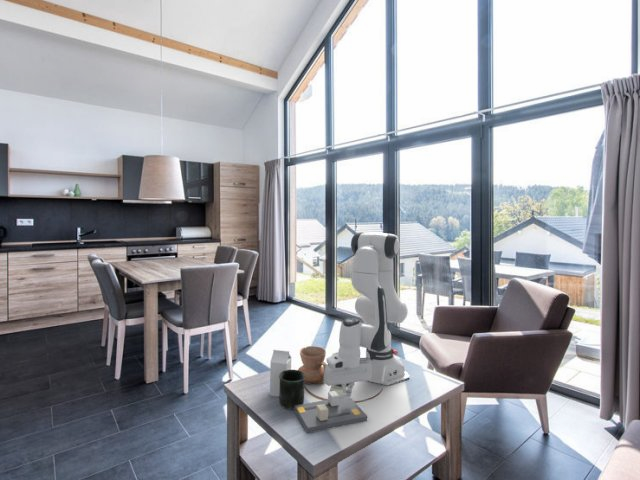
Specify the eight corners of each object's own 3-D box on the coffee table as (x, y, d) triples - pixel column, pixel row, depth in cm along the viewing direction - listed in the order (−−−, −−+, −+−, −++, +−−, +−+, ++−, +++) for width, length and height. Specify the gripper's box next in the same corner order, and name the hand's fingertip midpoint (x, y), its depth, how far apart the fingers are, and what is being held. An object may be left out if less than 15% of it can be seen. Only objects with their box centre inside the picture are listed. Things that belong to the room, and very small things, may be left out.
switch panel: (348, 400, 158) (349, 395, 158) (367, 421, 143) (367, 415, 143) (294, 410, 149) (294, 405, 149) (307, 433, 134) (308, 427, 134)
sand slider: (323, 413, 143) (324, 403, 142) (327, 419, 139) (328, 409, 139) (316, 415, 142) (316, 405, 141) (320, 420, 138) (320, 410, 138)
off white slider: (334, 400, 153) (335, 390, 153) (338, 405, 149) (339, 395, 149) (327, 401, 152) (328, 391, 152) (331, 406, 148) (332, 396, 148)
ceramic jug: (288, 377, 178) (289, 348, 176) (312, 369, 187) (313, 341, 186) (313, 393, 164) (314, 362, 163) (337, 383, 174) (338, 353, 172)
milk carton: (285, 398, 158) (286, 354, 157) (269, 396, 160) (270, 352, 158) (290, 390, 165) (291, 348, 164) (275, 388, 167) (276, 346, 165)
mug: (284, 413, 147) (285, 383, 146) (271, 396, 160) (271, 368, 159) (309, 407, 152) (310, 378, 151) (294, 391, 165) (295, 364, 164)
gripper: (368, 354, 158) (366, 386, 159) (322, 358, 151) (321, 392, 151) (375, 359, 152) (373, 392, 153) (329, 364, 145) (327, 399, 146)
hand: (347, 392), depth 152 cm, fingers closed
